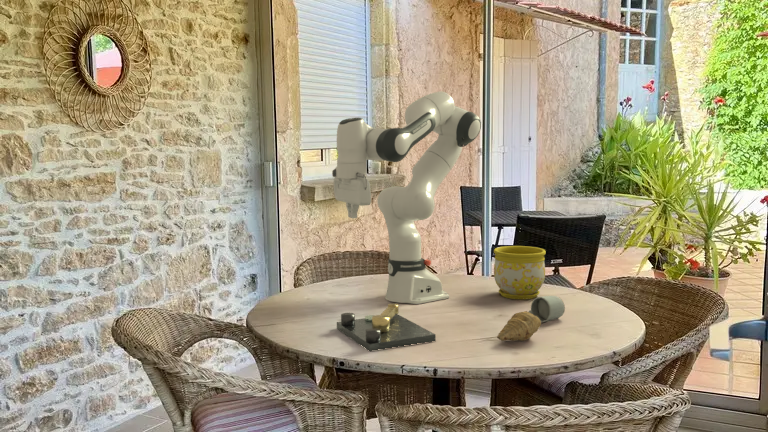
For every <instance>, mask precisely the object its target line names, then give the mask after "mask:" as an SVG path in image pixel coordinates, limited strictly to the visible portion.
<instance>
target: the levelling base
mask: <svg viewBox="0 0 768 432" xmlns="http://www.w3.org/2000/svg"><path fill="white" fill-rule="evenodd" d="M375 315H376V314H375ZM375 315H374V314H369V315H365V316H364V318H358V319H356V314H355V313H353V312H343V313H341V314H340V321H336V329H337V330H338V331H340V332H341V333H343V334H344V335H345V336H346V337H348V338H349V339H351V340H352V341H354V343H357V344H358V345H359V344H360V345H359V346H361V345H362V346H363V347H362V346H361V347H362V348H364V347H365V348H366V349H365V348H364V349H365V350H367V351H368V350H369V351H370V352H373V351H372V350H377V351H379V350H378V349H383V350H386V349H385V348H390V349H393V348H392V347H396V348H399V347H398V346H403V347H405V346H404V345H409V346H412V345H411V344H416V345H418V344H417V343H422V344H426V343H425V342H429V343H433V342H432V341H435V342H436V341H437V340H436V338H437V337H436V334H435V333H434V332H432V331H430V330H428V329H426V328H424V327H422V326H421V325H419V324H417V323H415V322H413V321H412V320H409V319H408V318H405V317H404V316H402V315H400V314H399V313H398V314H395V315H394V316H393V317H392V319H391V320H390V330H389V331H387V332H381V330H380V329H377V328H372V317H373V316H375ZM369 351H368V352H369Z"/></svg>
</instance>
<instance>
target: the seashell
mask: <svg viewBox="0 0 768 432" xmlns="http://www.w3.org/2000/svg"><path fill="white" fill-rule="evenodd" d="M541 326H542V322H541V320H540V319H539V318H538V317H537V316H534V315H533V314H531V313H529V311H528V310H526V311H520V312H515V313H513V315H512V316H511V318H510V319H508V321H507V322H506V324H505V325H504V326H503V327H502V329H501V330H500V332H499V333H498V334H497V336H496V338H497V339H498V340H499V341H501V342H503V341H504V342H507V341H520V342H524V341H526V340H527V341H528V340H529V339H530V338H532V336H533V335H534V334H535V333H537V332H538V330H539V328H540V327H541Z"/></svg>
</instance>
